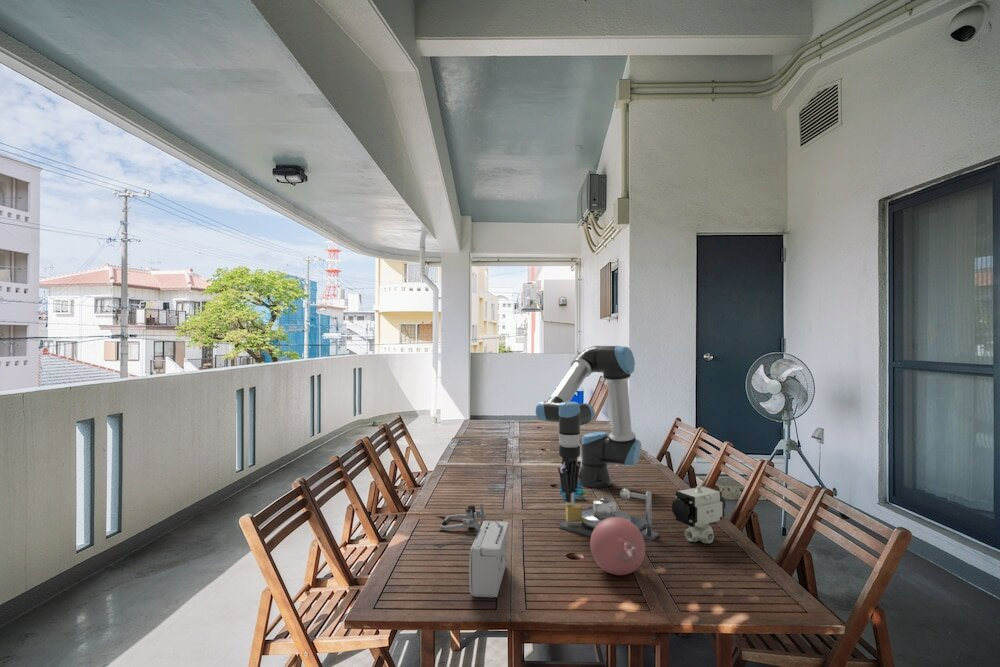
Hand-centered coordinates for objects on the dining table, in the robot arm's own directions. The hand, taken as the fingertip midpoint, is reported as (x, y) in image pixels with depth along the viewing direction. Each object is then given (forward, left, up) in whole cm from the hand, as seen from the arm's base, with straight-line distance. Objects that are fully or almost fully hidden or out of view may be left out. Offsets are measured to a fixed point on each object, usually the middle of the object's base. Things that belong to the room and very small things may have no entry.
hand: (569, 510), depth 183 cm
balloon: (+27, +31, -5) cm, 41 cm away
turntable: (-4, +9, -3) cm, 11 cm away
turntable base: (-6, +11, -5) cm, 13 cm away
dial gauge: (-6, +23, -5) cm, 24 cm away
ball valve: (-13, +42, -5) cm, 44 cm away
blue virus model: (-26, -13, -5) cm, 30 cm away
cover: (-6, +11, -2) cm, 12 cm away
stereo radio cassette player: (+51, +4, -5) cm, 52 cm away
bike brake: (+26, -32, -5) cm, 41 cm away
